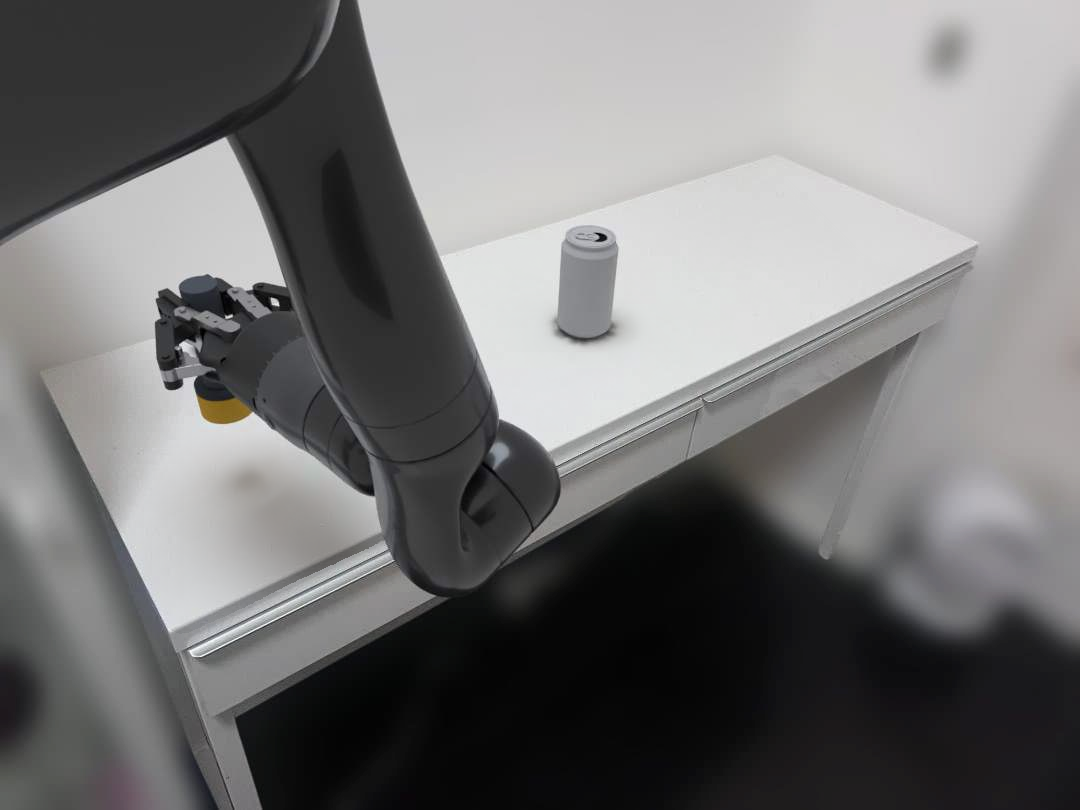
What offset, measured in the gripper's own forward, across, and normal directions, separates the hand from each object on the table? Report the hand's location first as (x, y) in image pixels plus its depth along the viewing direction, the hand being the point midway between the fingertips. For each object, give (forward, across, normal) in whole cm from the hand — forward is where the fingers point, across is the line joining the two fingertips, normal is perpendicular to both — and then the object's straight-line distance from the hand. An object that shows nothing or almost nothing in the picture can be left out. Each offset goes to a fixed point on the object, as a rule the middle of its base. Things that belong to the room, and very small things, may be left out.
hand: (184, 293), depth 64 cm
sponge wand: (-3, 0, +10) cm, 10 cm away
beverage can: (-7, -42, +18) cm, 46 cm away
